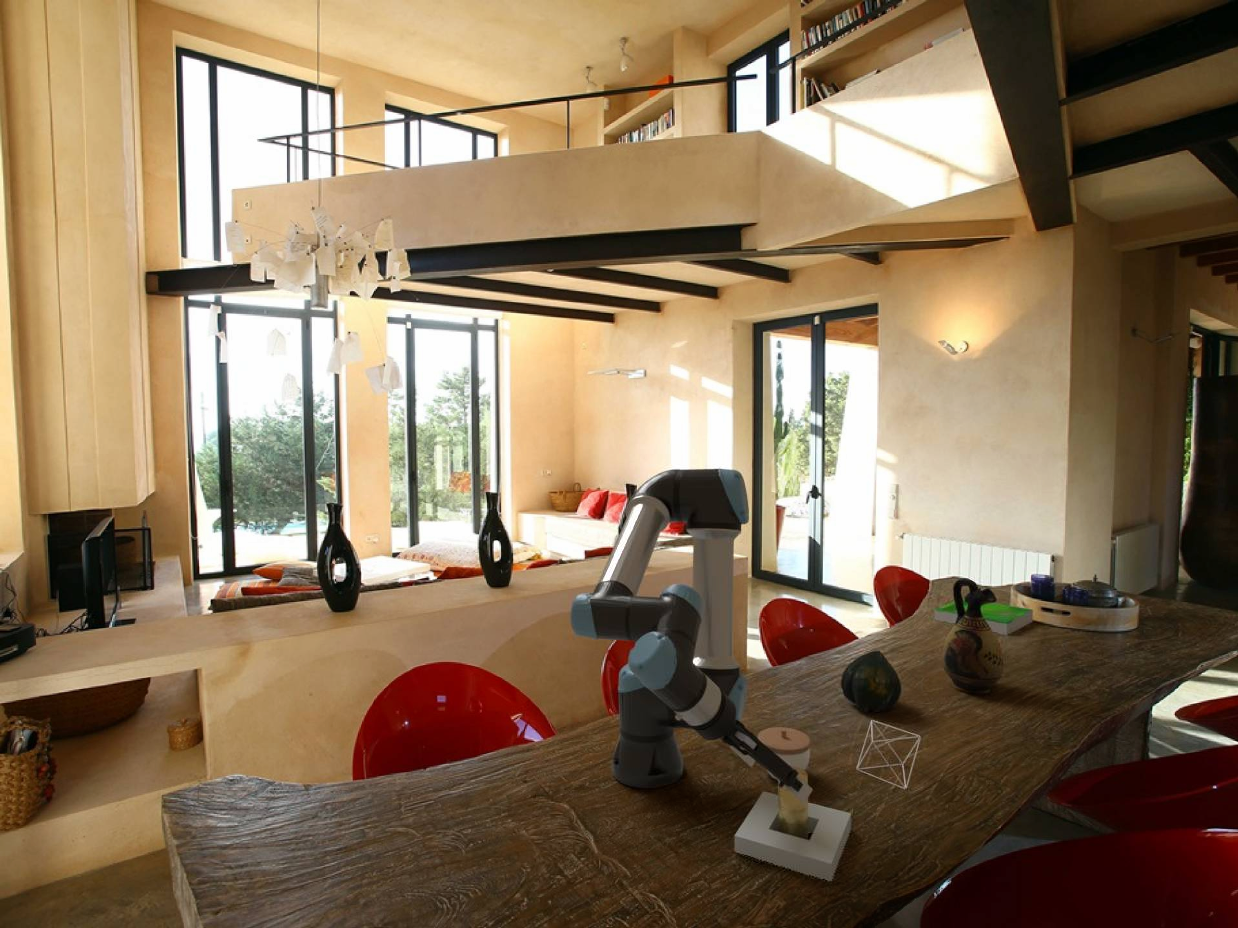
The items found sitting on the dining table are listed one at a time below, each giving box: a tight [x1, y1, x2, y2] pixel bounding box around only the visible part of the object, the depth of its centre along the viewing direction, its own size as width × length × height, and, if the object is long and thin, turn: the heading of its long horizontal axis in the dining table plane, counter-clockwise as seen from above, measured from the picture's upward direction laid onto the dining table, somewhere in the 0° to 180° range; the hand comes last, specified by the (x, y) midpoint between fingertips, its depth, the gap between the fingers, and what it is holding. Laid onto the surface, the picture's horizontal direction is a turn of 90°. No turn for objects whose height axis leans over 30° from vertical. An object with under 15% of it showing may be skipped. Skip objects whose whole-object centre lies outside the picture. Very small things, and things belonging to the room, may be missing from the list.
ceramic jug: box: [941, 577, 1005, 695], centre depth 184 cm, size 17×15×30 cm
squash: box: [840, 650, 902, 713], centre depth 172 cm, size 14×15×15 cm
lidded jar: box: [757, 726, 811, 781], centre depth 138 cm, size 11×11×9 cm
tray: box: [933, 597, 1034, 636], centre depth 248 cm, size 25×25×5 cm
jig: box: [734, 791, 852, 882], centre depth 115 cm, size 16×16×3 cm
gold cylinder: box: [777, 766, 809, 840], centre depth 115 cm, size 5×5×12 cm
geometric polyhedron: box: [856, 719, 922, 790], centre depth 138 cm, size 12×11×9 cm
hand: (779, 776), depth 113 cm, fingers open, 13 cm apart
